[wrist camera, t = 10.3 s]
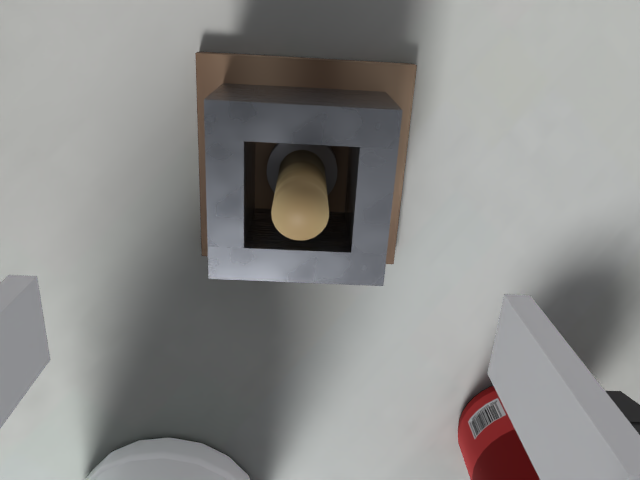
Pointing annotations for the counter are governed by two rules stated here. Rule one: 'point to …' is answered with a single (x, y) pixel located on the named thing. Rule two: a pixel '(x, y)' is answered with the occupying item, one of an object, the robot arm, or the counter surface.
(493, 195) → the counter surface
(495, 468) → the canned food
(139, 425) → the counter surface
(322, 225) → the post
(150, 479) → the bottle
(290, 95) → the ring
